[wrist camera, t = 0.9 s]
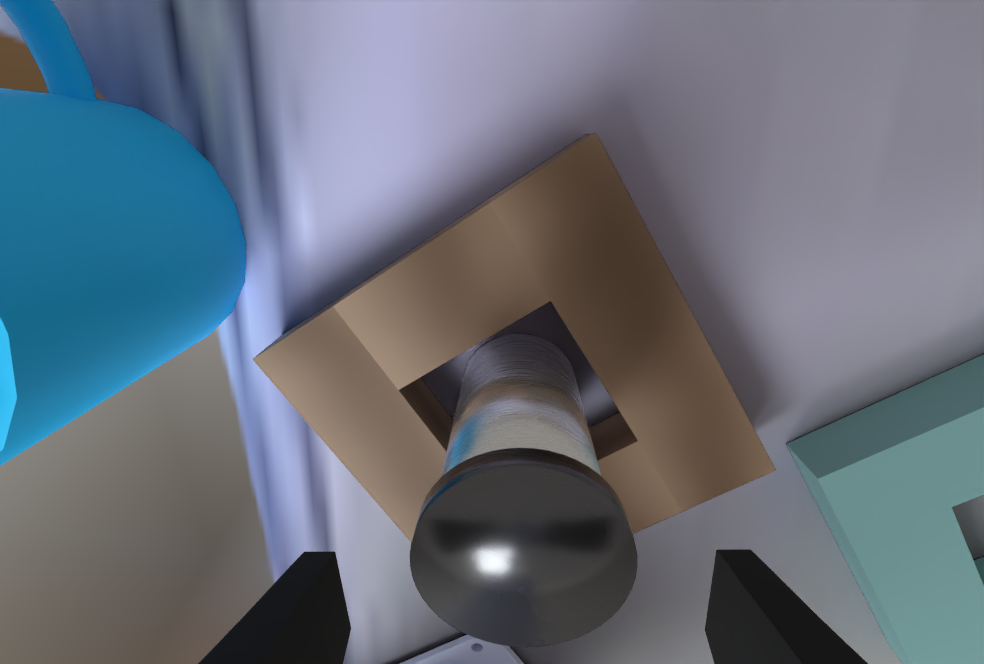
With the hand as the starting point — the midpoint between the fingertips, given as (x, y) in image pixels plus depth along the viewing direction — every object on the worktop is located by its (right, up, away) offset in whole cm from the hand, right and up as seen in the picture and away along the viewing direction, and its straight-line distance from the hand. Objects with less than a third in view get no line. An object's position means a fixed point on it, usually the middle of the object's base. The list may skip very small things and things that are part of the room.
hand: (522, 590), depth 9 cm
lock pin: (0, +3, +8) cm, 9 cm away
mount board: (0, +3, +8) cm, 9 cm away
